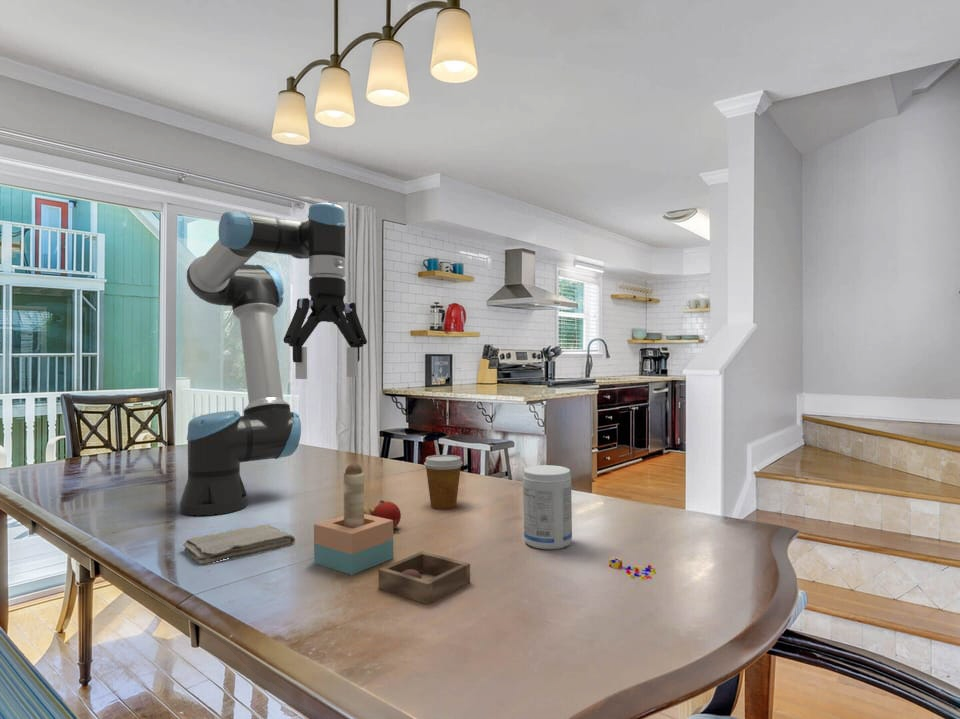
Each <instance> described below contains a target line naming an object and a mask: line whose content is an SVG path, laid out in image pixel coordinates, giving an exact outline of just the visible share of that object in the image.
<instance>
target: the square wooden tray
mask: <svg viewBox="0 0 960 719" xmlns="http://www.w3.org/2000/svg"><path fill="white" fill-rule="evenodd" d="M408 569H411V570H416V571H418V572H420V573H422V572H424V573H427V572H428V574H431V575H434V574H435V575H434V577H432V578H430V579H429V580H426V579H423V578H421V579H420V578H417V577H413V576H410V575H407V574H403V573H402V572H403V571H405V570H408ZM470 582H471V563H469V562H465V561H462V560H457V559H453V558H450V557H449V558H448V557H446V556H442V555H438V554H434V553H431V552H426V551H419V552H417V553H415V554H412V555H410V556H407V557H405V558H402V559H400V560H398V561H395V562H393V563H391V564H388V565H386V566H384V567H381V568H379V569H378V589H380V590H384V591H387V592H390V593H393V594H396V595H399V596H401V597H404V598H408V599H411V600H413V601H414V600H415V601H418V602H421V603H423V604H426V603H427V604H426V605H429V603H430V604H431V603H433V602H435V601H437V600H439V599H441V598H442V597H444V596H446V595H448V594H450V593H452V592H454V591H456V590H458V589H459V588H461V587H463V586H465V585H467V584H469V583H470Z"/></svg>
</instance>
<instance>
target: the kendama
mask: <svg viewBox="0 0 960 719" xmlns="http://www.w3.org/2000/svg"><path fill="white" fill-rule="evenodd" d="M364 514H368V515H372V516H377V517H381V518H385V519H390V520H393V530H394V529H395V528H396V527H397V526H399V523H400V522H401V518H402V517H401V516H402V514H401V510H400V508H399V506H398V505H397V504H395V503H394V502H391V501H389V500H388V499H385V498H384V499H381V500H380V501H379V502H378V505H377V506H374V507H373V508H370V507H367V506H366V505H364Z"/></svg>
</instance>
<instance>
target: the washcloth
mask: <svg viewBox="0 0 960 719" xmlns="http://www.w3.org/2000/svg"><path fill="white" fill-rule="evenodd" d="M295 542H296V538H295V536H293V534H290V533H288V532H286V531H285V530H284V531H281V530H280V529H278V528H277V527H275V526H273V525H271V524H261V525H256V526H252V527H243V528H237V529H233V530H229V531H223V532H220V533H213V534H212V533H211V534H209V535H208V534H207V535H203V536H197V537H192V538H189V539H187V540H185V542H184V543H183V545H182V546H184V551H186V554H187V555H188V556H189V557H190V558H191V557H192V558H191V559H192V560H194V562H195V563H197V564H198V565H201V564H203V565H209V564H208V563H211V564H214V563H213V562H215V563H217V562H216V561H220V560H223V559H227V558H229V559H231V560H233V559H234V558H235V559H238V558H243V557H247V556H253V555H256V553H257V554H260V553H264V552H265V553H266V552H269V551H274V550H279V549H282V548H281V547H283V548H286V547H285V546H287V547H290V546H292V545H294V543H295ZM235 559H234V560H235Z"/></svg>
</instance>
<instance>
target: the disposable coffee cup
mask: <svg viewBox="0 0 960 719" xmlns="http://www.w3.org/2000/svg"><path fill="white" fill-rule="evenodd" d="M461 458H462V457H461V456H459V455H452V454H438V455H437V454H434V455H428V456H427V457H425V462H423V464H424V467H425V470H426V476H427V477H426V479H427V485H428V486H427V487H428V493H429V499H430V500H429V501H430V507H431V508H432V507H433V508H432V509H436V508H437V510H450V509H453V508H456V507H457V501H458V493H459V492H458V491H459V485H460V484H459V483H460V476H461V467H462V465H463V461H462V459H461ZM449 508H450V509H449Z"/></svg>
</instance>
